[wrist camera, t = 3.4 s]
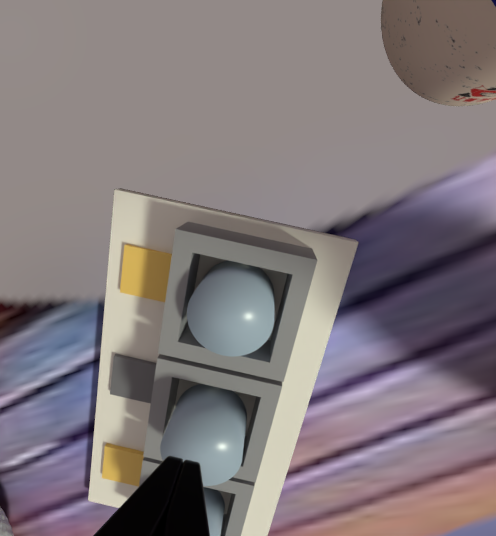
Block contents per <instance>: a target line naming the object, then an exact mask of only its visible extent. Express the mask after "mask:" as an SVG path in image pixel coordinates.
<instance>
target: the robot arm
mask: <svg viewBox="0 0 496 536" xmlns="http://www.w3.org/2000/svg"><path fill="white" fill-rule="evenodd" d="M94 536H210V532H209V524H208V517H207V510H206V503H205V495H204V488H203V481H202V473H201V466H200V463H199V462H195V461H191V460H185V461H184V462H183V459H182V458H178V457H174V456H168V457H166V458H165V459H164V460H163V461H162V463H161V464H160V465H159V466H158V467H157V468H156V469H155V470H154V471H153V472H152V473H151V474H150V475H149V477H148V478H147V479H146V480H145V481H144V482H143V483H142V484H141V485H140V486H139V487H138V488H137V489H136V490H135V492H134V493H133V494H132V495H131V496H130V497H129V498H128V499H127V500H126V501H125V502H124V503H123V504H122V506H121V507H120V508H119V509H118V510H117V511H116V512H115V513H114V514H113V515H112V516H111V517H110V518H109V520H108V521H107V522H106V523H105V524H104V525H103V526H102V527H101V528H100V529H99V530H98V531H97V532H96V533H95V535H94Z"/></svg>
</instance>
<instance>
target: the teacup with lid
mask: <svg viewBox="0 0 496 536" xmlns="http://www.w3.org/2000/svg"><path fill="white" fill-rule="evenodd" d="M381 29H382V38H383V42H384V47H385V50H386V53H387V56H388V59H389V61H390V63H391V65H392V67H393V69H394V70H395V72H396V74H397V75H398V76H399V78H400V79H401V80H402V81H403V82H404V84H405V85H407V87H409V88H410V89H411V90H412V91H413V92H415V93H416V94H418V95H419V96H421V97H423V98H425V99H427V100H429V101H432V102H434V103H438V104H443V105H448V106H470V105H477V104H481V103H486V102H489V101H492V100H495V99H496V0H383V2H382V12H381Z"/></svg>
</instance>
